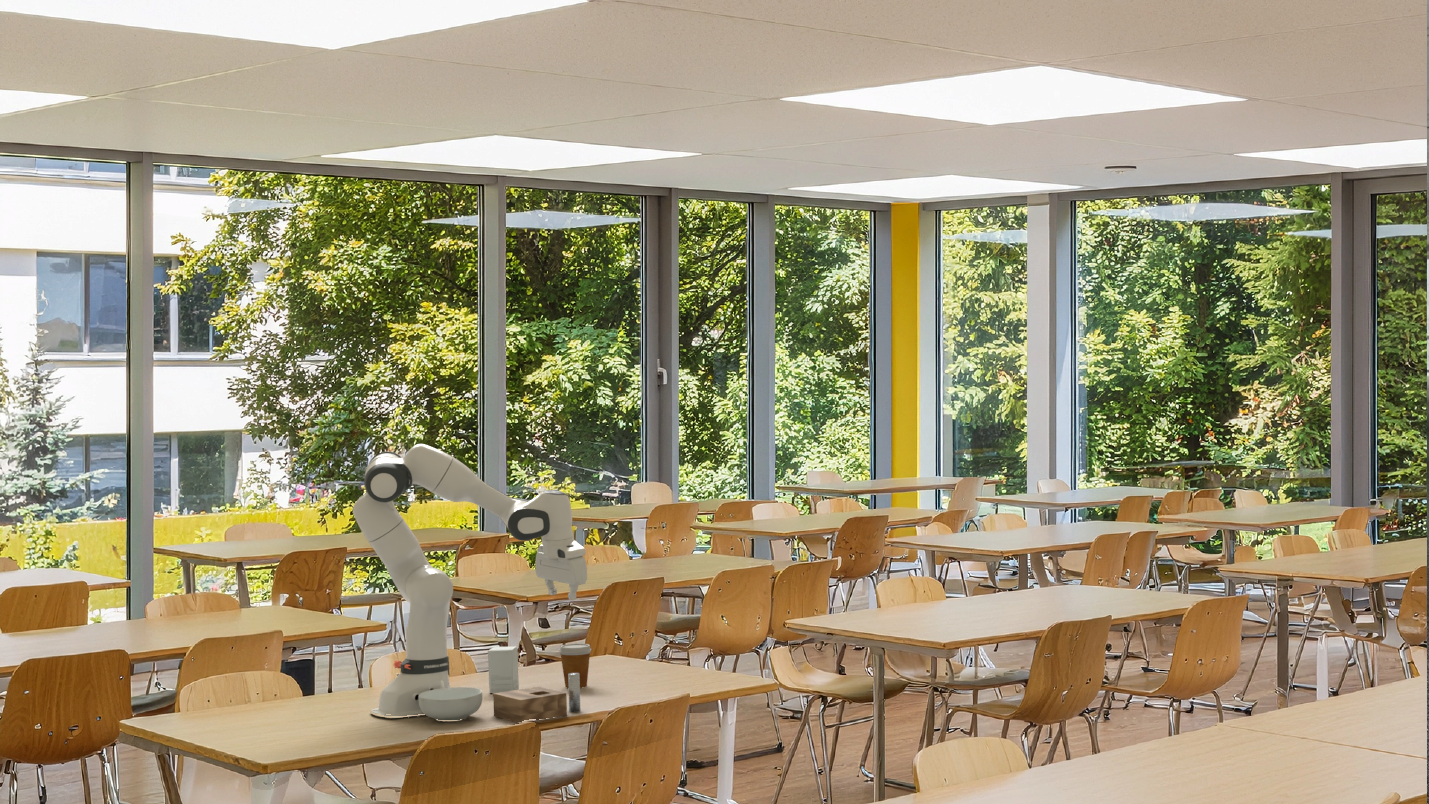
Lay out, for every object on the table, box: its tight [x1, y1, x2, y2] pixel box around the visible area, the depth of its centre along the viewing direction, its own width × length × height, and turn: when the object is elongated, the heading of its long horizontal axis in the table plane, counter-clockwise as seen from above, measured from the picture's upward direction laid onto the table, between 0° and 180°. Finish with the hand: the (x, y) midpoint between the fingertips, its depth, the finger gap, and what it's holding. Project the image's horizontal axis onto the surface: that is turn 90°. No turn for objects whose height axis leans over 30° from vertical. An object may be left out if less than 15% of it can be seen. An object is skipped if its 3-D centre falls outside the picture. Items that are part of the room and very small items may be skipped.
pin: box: [568, 673, 581, 713], centre depth 397 cm, size 3×3×10 cm
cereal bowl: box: [418, 686, 483, 720], centre depth 391 cm, size 17×17×7 cm
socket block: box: [492, 686, 568, 723], centre depth 392 cm, size 14×14×6 cm
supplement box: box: [487, 645, 520, 694], centre depth 431 cm, size 7×7×13 cm
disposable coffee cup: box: [558, 643, 592, 689], centre depth 436 cm, size 10×10×12 cm
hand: (562, 596), depth 411 cm, fingers open, 8 cm apart
